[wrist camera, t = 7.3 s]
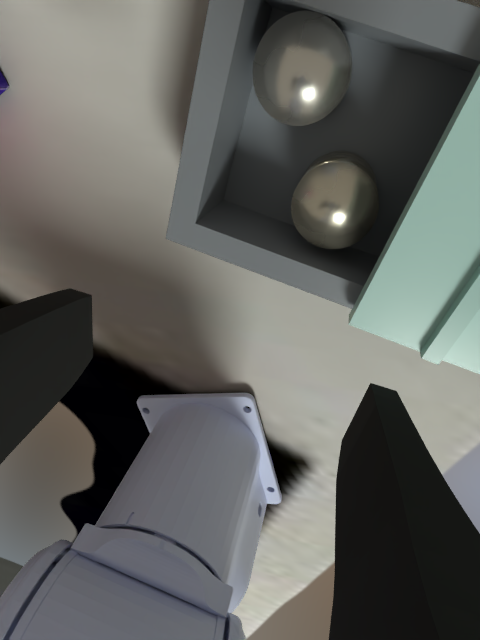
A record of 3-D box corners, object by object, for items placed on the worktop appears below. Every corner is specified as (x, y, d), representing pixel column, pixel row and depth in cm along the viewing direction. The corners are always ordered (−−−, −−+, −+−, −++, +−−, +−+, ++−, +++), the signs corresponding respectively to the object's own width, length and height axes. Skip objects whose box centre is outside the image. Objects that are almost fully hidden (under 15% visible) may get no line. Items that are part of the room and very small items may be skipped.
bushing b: (379, 220, 17) (382, 242, 14) (306, 231, 18) (298, 254, 15) (372, 142, 15) (374, 153, 13) (295, 159, 16) (283, 173, 14)
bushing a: (356, 108, 15) (356, 112, 12) (277, 128, 16) (263, 135, 13) (347, 9, 13) (344, -6, 11) (261, 38, 14) (242, 29, 12)
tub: (426, 291, 18) (442, 343, 15) (203, 208, 19) (165, 238, 15) (567, 65, 13) (645, 59, 10) (258, -33, 14) (223, -74, 10)
